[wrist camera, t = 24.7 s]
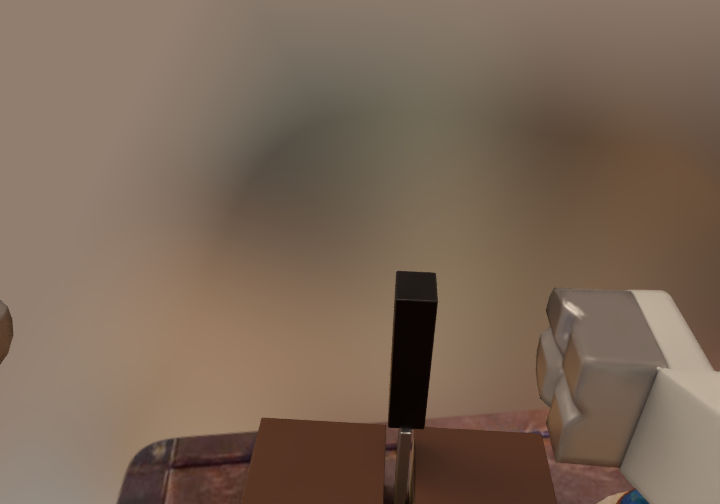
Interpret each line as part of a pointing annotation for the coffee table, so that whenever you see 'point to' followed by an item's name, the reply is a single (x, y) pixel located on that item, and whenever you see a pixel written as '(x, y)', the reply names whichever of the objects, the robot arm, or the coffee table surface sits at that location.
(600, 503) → the dessert
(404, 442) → the knife
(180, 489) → the coffee table surface
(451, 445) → the cake right
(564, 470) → the coffee table surface
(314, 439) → the cake left
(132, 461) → the coffee table surface
